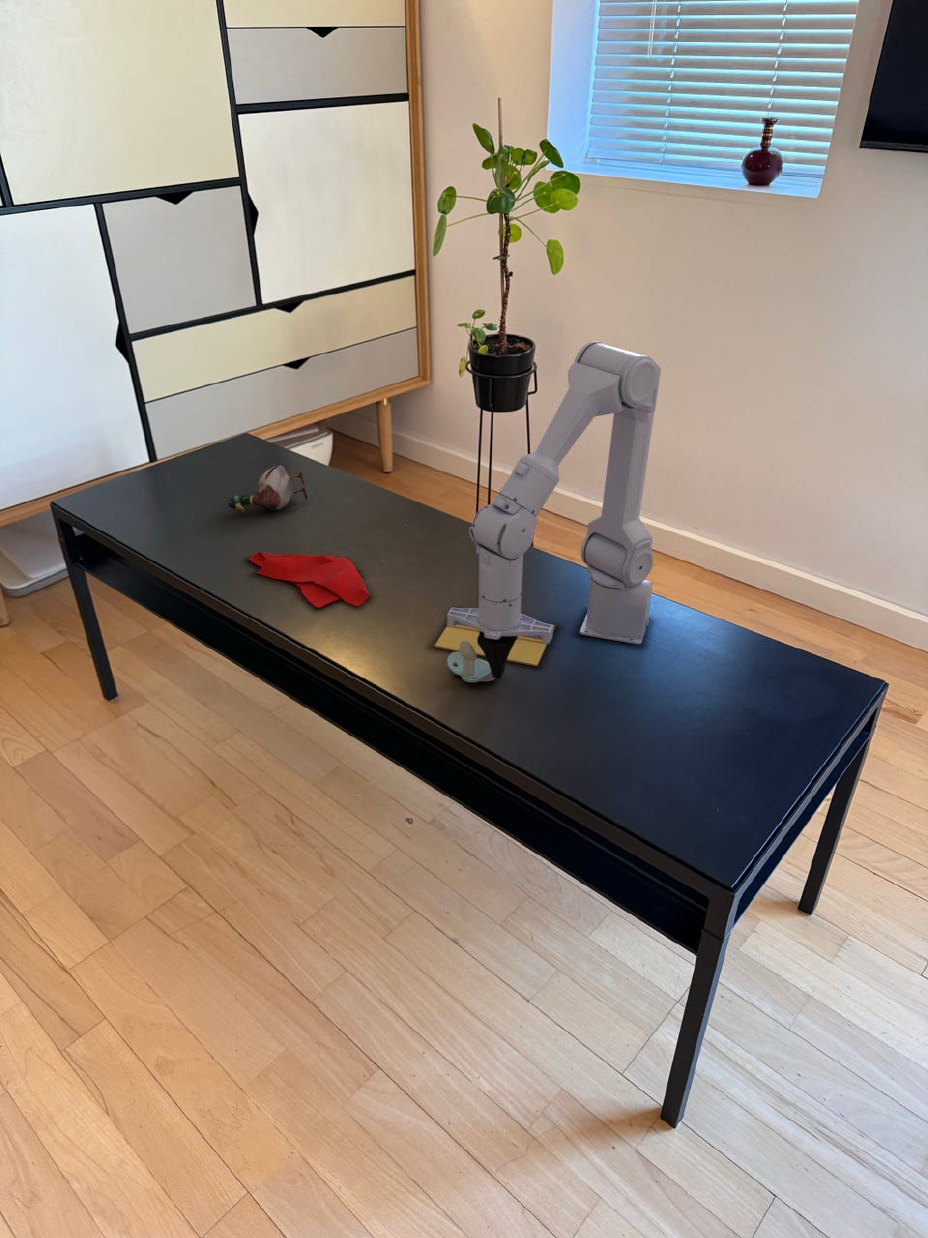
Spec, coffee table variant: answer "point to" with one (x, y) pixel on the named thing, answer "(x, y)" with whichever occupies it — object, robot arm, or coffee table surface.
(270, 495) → the decorative duck model
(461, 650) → the pacifier
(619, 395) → the robot arm
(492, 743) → the coffee table surface
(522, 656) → the envelope
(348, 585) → the cloth
